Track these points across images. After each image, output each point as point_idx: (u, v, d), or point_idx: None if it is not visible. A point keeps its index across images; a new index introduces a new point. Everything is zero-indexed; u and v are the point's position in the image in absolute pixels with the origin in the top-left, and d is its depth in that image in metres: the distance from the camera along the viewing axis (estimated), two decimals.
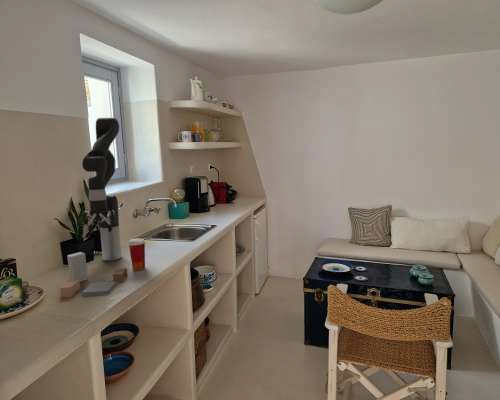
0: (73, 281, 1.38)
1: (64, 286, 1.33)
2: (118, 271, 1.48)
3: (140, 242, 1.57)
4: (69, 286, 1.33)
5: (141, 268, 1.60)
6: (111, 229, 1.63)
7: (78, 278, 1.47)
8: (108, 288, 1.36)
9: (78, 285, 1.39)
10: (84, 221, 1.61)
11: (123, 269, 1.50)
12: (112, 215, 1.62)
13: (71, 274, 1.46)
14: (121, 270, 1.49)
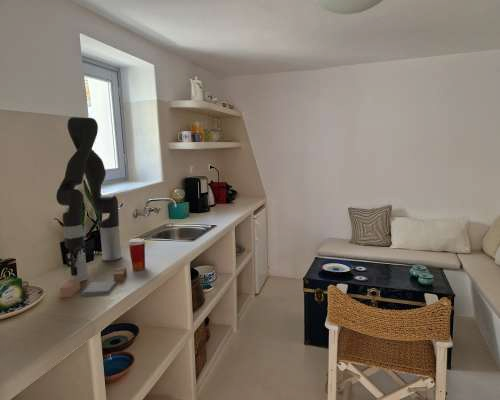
0: (73, 281, 1.38)
1: (64, 286, 1.33)
2: (118, 271, 1.48)
3: (140, 242, 1.57)
4: (69, 286, 1.33)
5: (141, 268, 1.60)
6: None
7: (78, 278, 1.47)
8: (108, 288, 1.36)
9: (78, 285, 1.39)
10: (73, 263, 1.42)
11: (123, 269, 1.50)
12: (84, 249, 1.54)
13: None
14: (121, 270, 1.49)
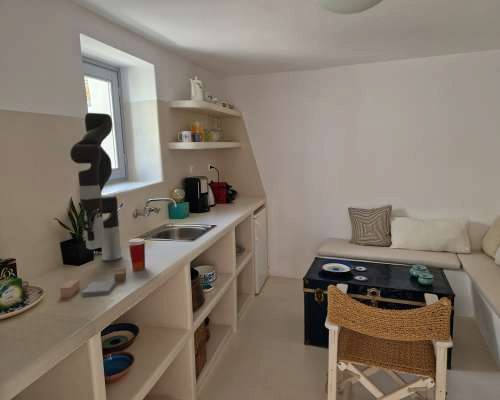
0: (73, 281, 1.38)
1: (64, 286, 1.33)
2: (119, 271, 1.48)
3: (140, 242, 1.57)
4: (69, 286, 1.33)
5: (141, 268, 1.60)
6: None
7: (95, 244, 1.33)
8: (108, 288, 1.36)
9: (78, 285, 1.39)
10: (90, 227, 1.28)
11: (123, 269, 1.50)
12: (101, 214, 1.40)
13: (87, 239, 1.33)
14: (121, 270, 1.49)
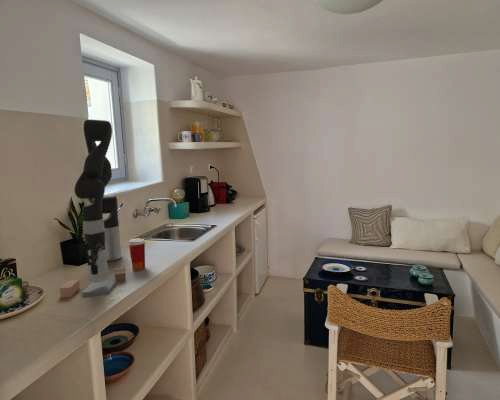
0: (73, 281, 1.38)
1: (64, 286, 1.33)
2: (119, 271, 1.48)
3: (140, 242, 1.57)
4: (69, 286, 1.33)
5: (141, 268, 1.60)
6: None
7: (98, 277, 1.35)
8: (108, 288, 1.36)
9: (78, 285, 1.39)
10: (94, 261, 1.30)
11: (123, 269, 1.50)
12: (104, 246, 1.42)
13: (90, 273, 1.35)
14: (120, 270, 1.49)
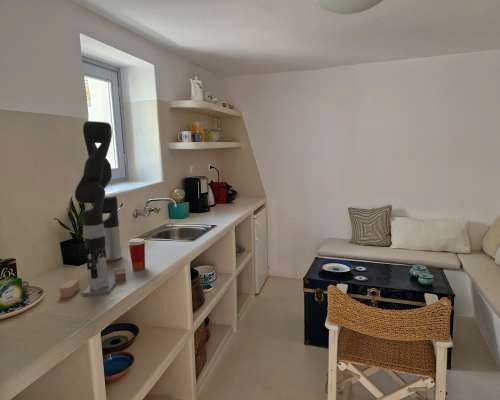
0: (73, 281, 1.38)
1: (64, 286, 1.33)
2: (119, 271, 1.48)
3: (140, 242, 1.57)
4: (69, 286, 1.33)
5: (141, 268, 1.60)
6: None
7: (99, 284, 1.36)
8: (108, 289, 1.36)
9: (78, 285, 1.39)
10: (94, 265, 1.30)
11: (123, 269, 1.50)
12: (105, 249, 1.42)
13: (91, 280, 1.35)
14: (120, 270, 1.49)
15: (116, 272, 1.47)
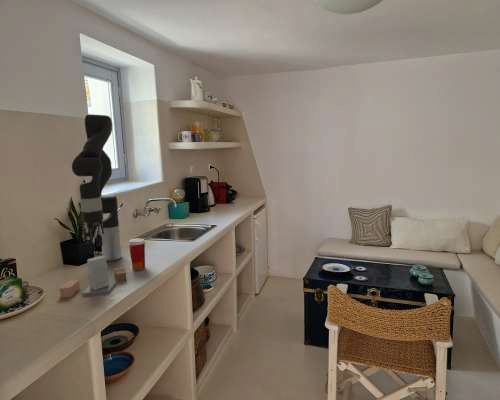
0: (73, 281, 1.38)
1: (64, 286, 1.33)
2: (119, 271, 1.48)
3: (140, 242, 1.57)
4: (69, 286, 1.33)
5: (141, 268, 1.60)
6: (102, 242, 1.41)
7: (99, 284, 1.35)
8: (108, 289, 1.36)
9: (78, 285, 1.39)
10: (91, 239, 1.28)
11: (123, 269, 1.50)
12: (102, 225, 1.41)
13: (91, 280, 1.35)
14: (120, 270, 1.49)
15: (116, 272, 1.47)
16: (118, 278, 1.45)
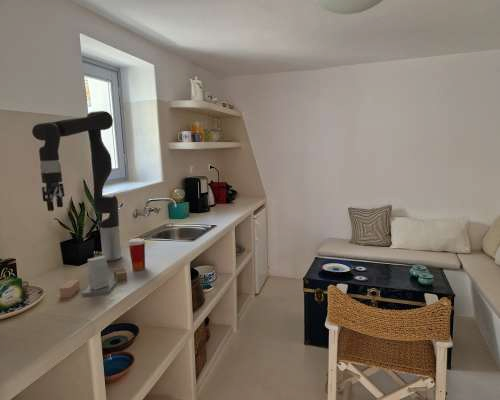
0: (73, 281, 1.38)
1: (64, 286, 1.33)
2: (119, 271, 1.48)
3: (140, 242, 1.57)
4: (69, 286, 1.33)
5: (141, 268, 1.60)
6: (62, 203, 1.52)
7: (99, 284, 1.35)
8: (108, 289, 1.36)
9: (78, 285, 1.39)
10: (49, 197, 1.40)
11: (123, 269, 1.50)
12: (63, 188, 1.52)
13: (91, 280, 1.35)
14: (120, 270, 1.49)
15: (116, 272, 1.47)
16: (118, 278, 1.45)
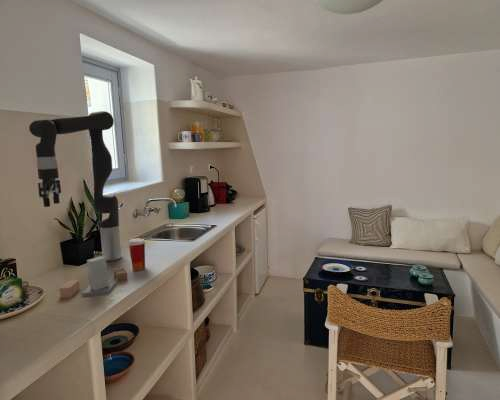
0: (73, 281, 1.38)
1: (63, 286, 1.33)
2: (119, 271, 1.48)
3: (140, 242, 1.57)
4: (68, 286, 1.33)
5: (141, 268, 1.60)
6: None
7: (99, 285, 1.35)
8: (108, 289, 1.36)
9: (78, 285, 1.39)
10: (45, 193, 1.41)
11: (123, 269, 1.50)
12: (59, 184, 1.53)
13: (91, 280, 1.35)
14: (120, 270, 1.49)
15: (117, 272, 1.47)
16: (119, 278, 1.45)
